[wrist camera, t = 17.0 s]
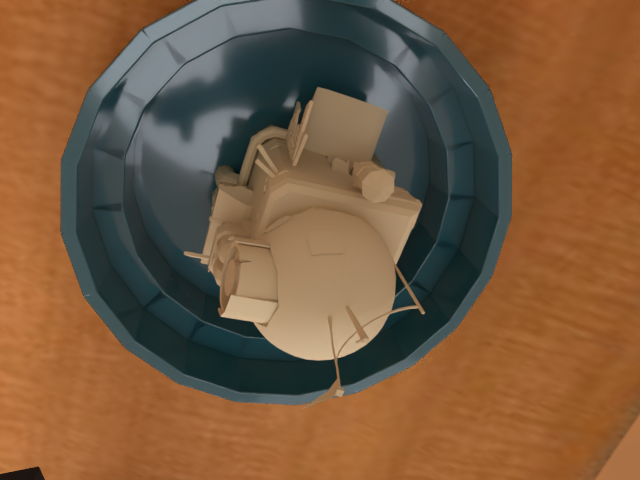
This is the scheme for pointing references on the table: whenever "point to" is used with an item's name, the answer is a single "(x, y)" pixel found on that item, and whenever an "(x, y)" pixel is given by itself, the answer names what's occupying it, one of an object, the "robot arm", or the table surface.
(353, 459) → the table surface
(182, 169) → the shallow teal bowl
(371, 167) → the robot
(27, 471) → the robot arm
